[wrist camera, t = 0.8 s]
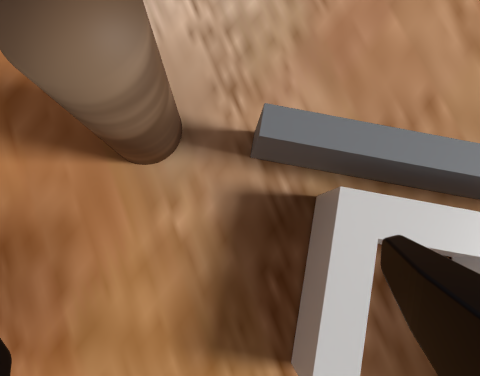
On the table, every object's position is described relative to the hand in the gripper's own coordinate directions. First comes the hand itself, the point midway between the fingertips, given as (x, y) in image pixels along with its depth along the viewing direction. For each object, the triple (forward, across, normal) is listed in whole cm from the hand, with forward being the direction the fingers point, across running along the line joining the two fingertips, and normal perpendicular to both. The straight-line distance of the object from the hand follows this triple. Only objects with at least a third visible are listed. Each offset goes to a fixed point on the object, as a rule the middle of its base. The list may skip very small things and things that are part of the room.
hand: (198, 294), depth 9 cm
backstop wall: (+12, -12, +6) cm, 18 cm away
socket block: (+8, -9, +11) cm, 16 cm away
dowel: (+15, +2, +2) cm, 15 cm away
